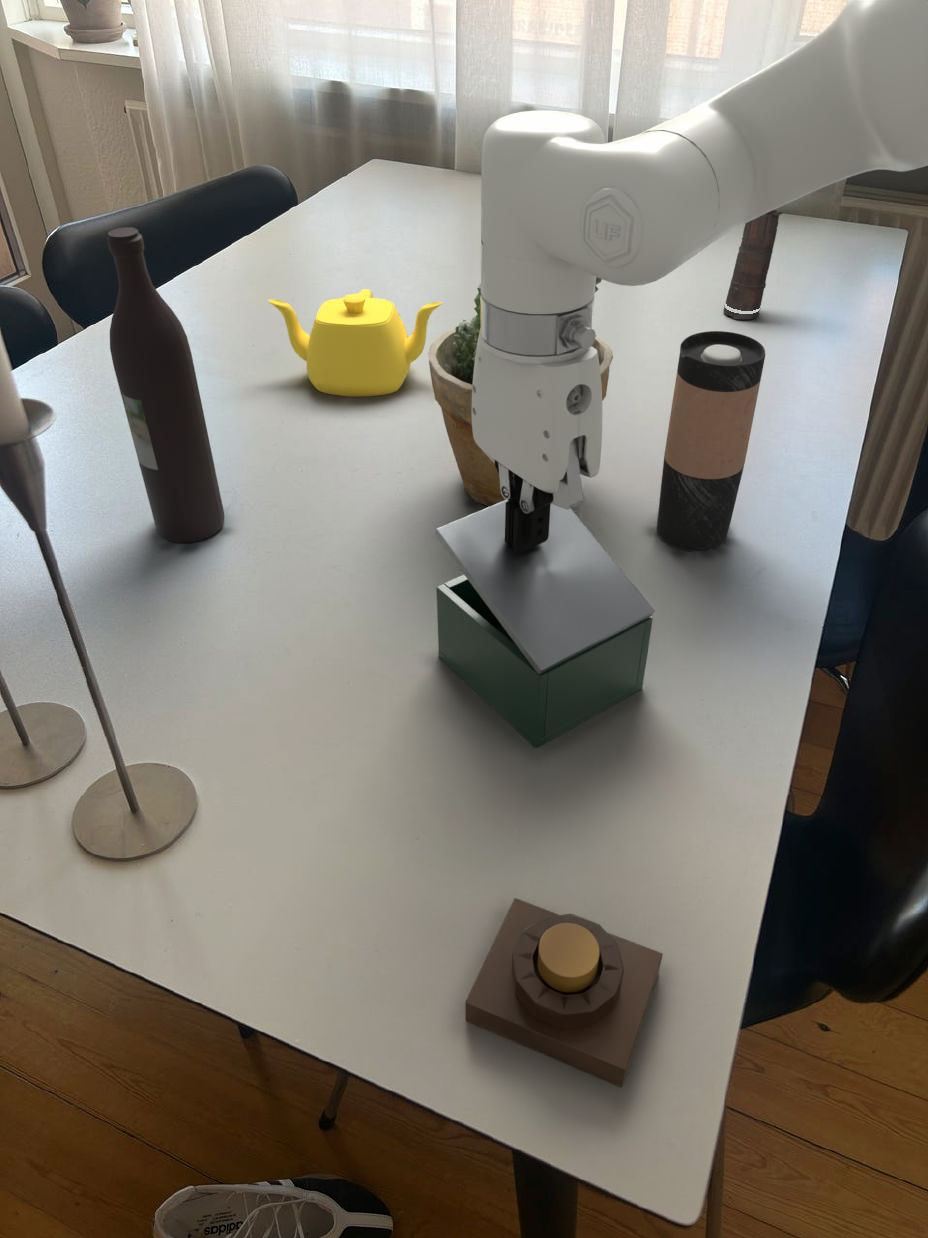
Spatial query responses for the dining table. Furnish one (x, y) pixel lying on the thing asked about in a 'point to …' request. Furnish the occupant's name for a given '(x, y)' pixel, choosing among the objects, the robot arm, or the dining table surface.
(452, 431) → the potted plant
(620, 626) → the tin lid
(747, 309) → the butter churn
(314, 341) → the teapot
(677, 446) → the travel mug
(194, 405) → the wine bottle
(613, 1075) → the button block
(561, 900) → the dining table surface
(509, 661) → the tin
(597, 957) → the button
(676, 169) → the robot arm
